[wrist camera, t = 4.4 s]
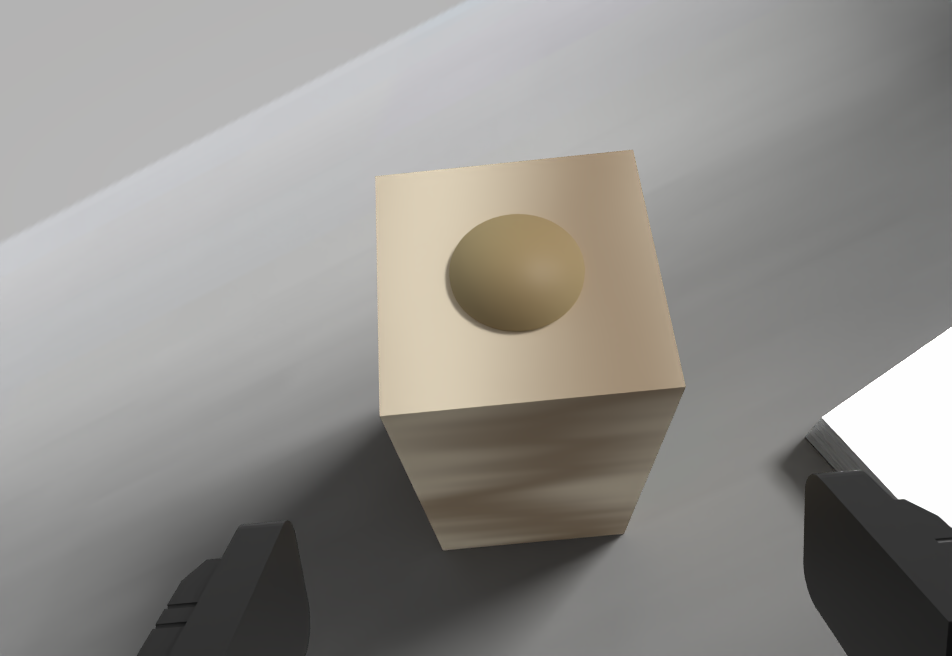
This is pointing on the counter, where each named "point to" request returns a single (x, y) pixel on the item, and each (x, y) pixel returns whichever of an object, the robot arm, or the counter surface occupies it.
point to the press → (899, 430)
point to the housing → (523, 345)
